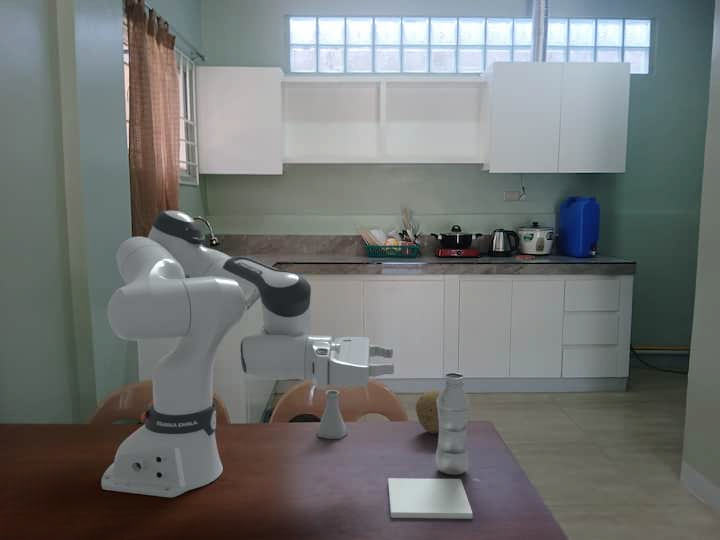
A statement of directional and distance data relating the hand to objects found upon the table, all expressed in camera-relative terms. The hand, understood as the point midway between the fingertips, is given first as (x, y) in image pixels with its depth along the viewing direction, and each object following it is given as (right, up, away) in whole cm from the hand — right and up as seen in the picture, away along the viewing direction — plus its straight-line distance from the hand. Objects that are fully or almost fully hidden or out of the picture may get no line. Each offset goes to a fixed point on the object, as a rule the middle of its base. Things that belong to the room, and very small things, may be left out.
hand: (393, 360), depth 113 cm
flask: (-13, -21, +22) cm, 33 cm away
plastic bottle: (+12, -23, +4) cm, 26 cm away
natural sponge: (+11, -21, +23) cm, 33 cm away
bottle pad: (+6, -24, -7) cm, 26 cm away
